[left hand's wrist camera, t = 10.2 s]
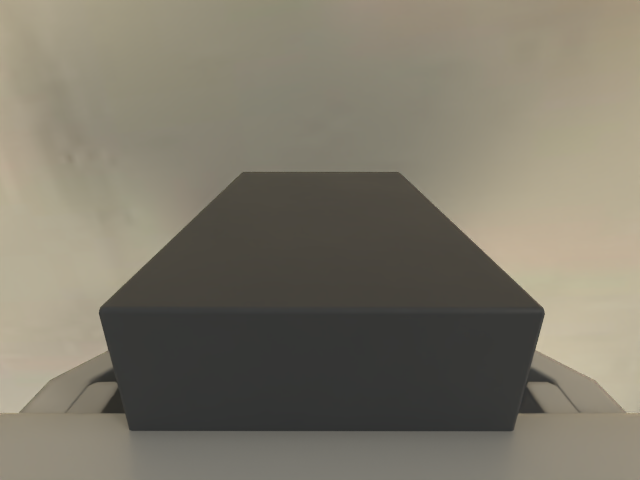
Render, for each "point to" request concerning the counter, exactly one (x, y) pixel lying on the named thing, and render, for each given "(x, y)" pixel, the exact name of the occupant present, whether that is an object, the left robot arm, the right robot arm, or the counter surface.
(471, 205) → the counter surface
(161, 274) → the bar
